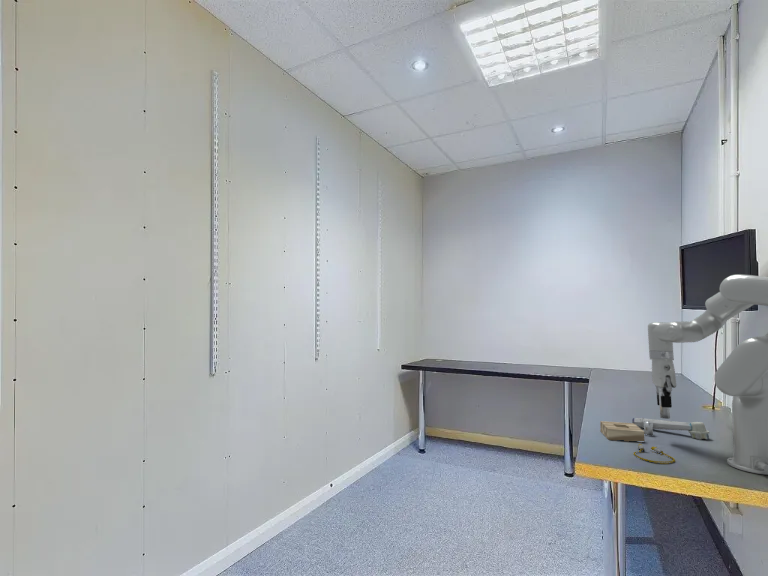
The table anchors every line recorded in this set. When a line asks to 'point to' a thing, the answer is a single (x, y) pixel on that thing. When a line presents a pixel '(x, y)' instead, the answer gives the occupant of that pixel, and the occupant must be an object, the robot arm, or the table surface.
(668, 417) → the long pin
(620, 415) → the table surface
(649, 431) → the short pin
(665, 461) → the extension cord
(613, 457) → the table surface
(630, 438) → the bored block
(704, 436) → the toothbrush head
